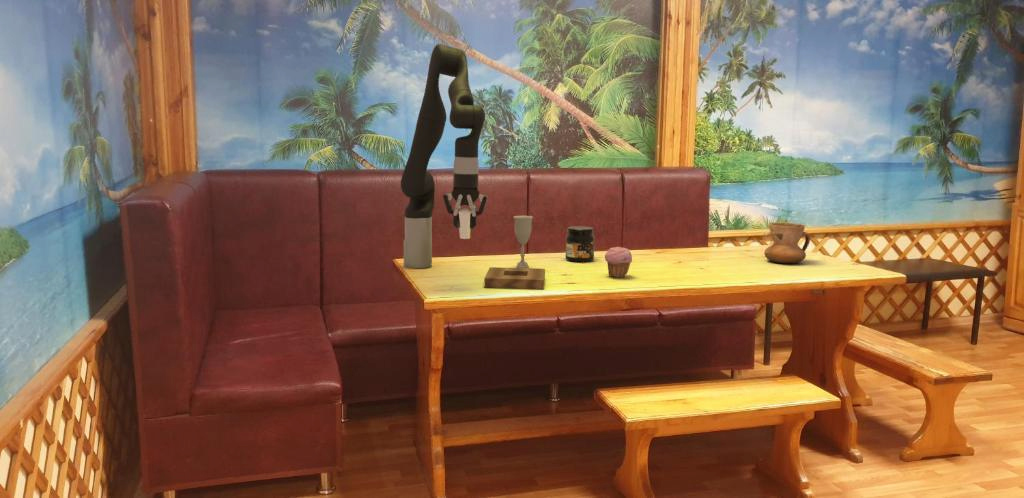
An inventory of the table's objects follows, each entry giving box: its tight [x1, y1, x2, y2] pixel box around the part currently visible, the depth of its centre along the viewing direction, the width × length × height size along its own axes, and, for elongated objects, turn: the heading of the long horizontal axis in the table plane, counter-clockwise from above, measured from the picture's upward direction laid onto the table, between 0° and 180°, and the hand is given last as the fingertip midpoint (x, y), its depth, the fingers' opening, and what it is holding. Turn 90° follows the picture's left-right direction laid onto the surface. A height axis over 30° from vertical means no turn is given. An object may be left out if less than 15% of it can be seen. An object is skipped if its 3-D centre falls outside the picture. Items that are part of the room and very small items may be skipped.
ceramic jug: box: [763, 221, 811, 265], centre depth 293 cm, size 18×14×14 cm
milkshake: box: [458, 208, 472, 240], centre depth 244 cm, size 4×5×10 cm
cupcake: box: [604, 246, 633, 279], centre depth 262 cm, size 9×9×10 cm
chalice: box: [512, 215, 534, 268], centre depth 272 cm, size 7×7×18 cm
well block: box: [483, 266, 546, 290], centre depth 251 cm, size 18×18×3 cm
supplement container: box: [565, 225, 596, 263], centre depth 291 cm, size 10×10×12 cm
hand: (464, 227), depth 244 cm, fingers closed on milkshake, 4 cm apart
